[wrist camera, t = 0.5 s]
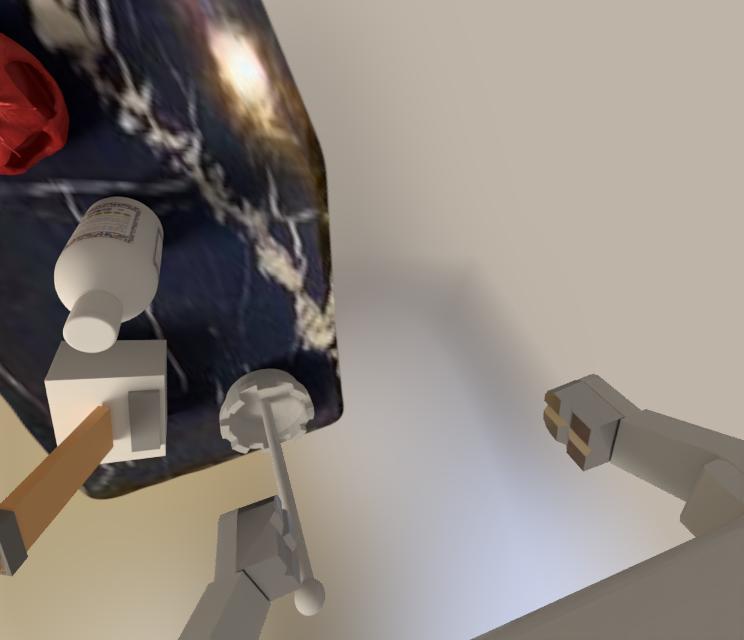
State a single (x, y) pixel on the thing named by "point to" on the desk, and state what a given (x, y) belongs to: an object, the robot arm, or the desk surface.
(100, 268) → the bath foam
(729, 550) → the robot arm
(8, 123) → the pomegranate
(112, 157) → the desk surface
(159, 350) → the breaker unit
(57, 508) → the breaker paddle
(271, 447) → the flag stand
